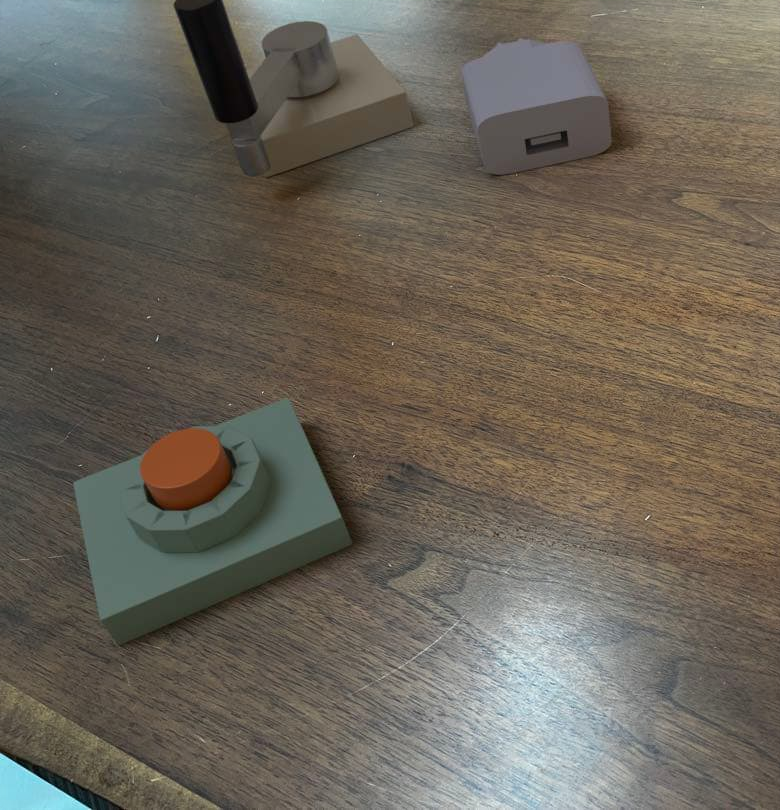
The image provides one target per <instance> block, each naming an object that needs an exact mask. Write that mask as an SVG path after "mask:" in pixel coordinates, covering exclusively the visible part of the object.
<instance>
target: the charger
mask: <svg viewBox="0 0 780 810" xmlns="http://www.w3.org/2000/svg"><path fill="white" fill-rule="evenodd" d="M460 76H461V80H462V86H463V91H464V95H465V102H466V108H467V111H468V115H469V118H470V122H471V126H472V129H473V133H474V136H475V140H476V143H477V147H478V150H479V154H480V157H481V161H482V164H483V167H484V169H485V171H486V172H487V173H489V174H492V175H499V176H501V175H510V174H515V173H520V172H525V171H529V170H534V169H538V168H544V167H547V166H548V167H549V166H553V165H557V164H563V163H567V162H572V161H576V160H581V159H586V158H590V157H595V156H597V155H600V154H601V153H604V152H605V151H606V150H608V149H609V148H610V147H611V146H612V142H613V141H612V129H611V118H610V108H609V101H608V99H607V97H606V95H605V93H604V92H603V89H602V86H601V85H600V83H599V80H598V79H597V77H596V74H595V72H594V70H593V68H592V66H591V64H590V62H589V61H588V58H587V56H586V54H585V51H584V49H583V48H582V45H581V44H580V43H578V42H577V41H572V40H561V41H555V42H550V43H546V42H542V41H539V40H534V39H529V38H526V39H525V38H524V37H520V38H518V40H516V41H512V42H507V43H504V42H501V41H500V42H498V43H497V44H496V46H495V47H493V48H492V49H491V50H489V51H488V52H486V53H485V54H484V55H482V57H478V58H475V59H473V60H471V61H469V62H467V63H466V64H464V65H463V66H462V68H461V71H460Z"/></svg>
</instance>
